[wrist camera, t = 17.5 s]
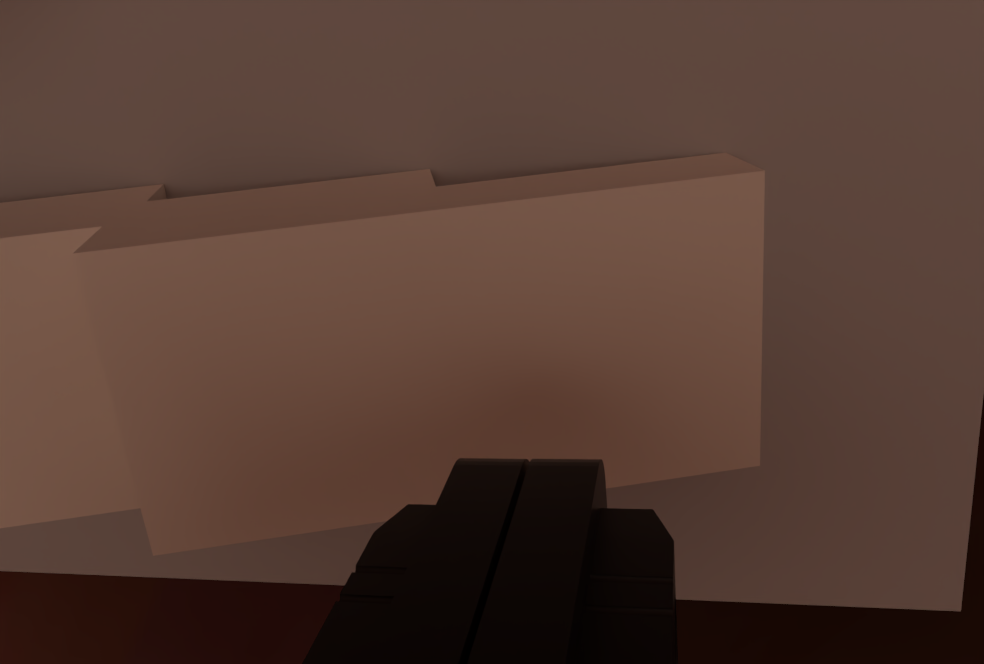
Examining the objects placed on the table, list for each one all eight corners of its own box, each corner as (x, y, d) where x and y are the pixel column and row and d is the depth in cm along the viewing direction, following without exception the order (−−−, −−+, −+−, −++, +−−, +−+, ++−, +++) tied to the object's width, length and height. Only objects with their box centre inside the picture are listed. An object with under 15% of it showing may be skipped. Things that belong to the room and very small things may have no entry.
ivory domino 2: (759, 465, 15) (152, 555, 15) (725, 423, 17) (172, 503, 16) (764, 170, 14) (72, 253, 13) (725, 152, 15) (103, 226, 14)
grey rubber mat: (952, 591, 18) (960, 610, 17) (-386, 540, 25) (-410, 553, 25) (1026, -152, 13) (1041, -157, 13) (-642, 51, 21) (-679, 53, 20)
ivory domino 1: (467, 461, 16) (-114, 545, 16) (458, 422, 18) (-73, 496, 17) (435, 187, 15) (-224, 264, 14) (429, 169, 16) (-167, 237, 15)
